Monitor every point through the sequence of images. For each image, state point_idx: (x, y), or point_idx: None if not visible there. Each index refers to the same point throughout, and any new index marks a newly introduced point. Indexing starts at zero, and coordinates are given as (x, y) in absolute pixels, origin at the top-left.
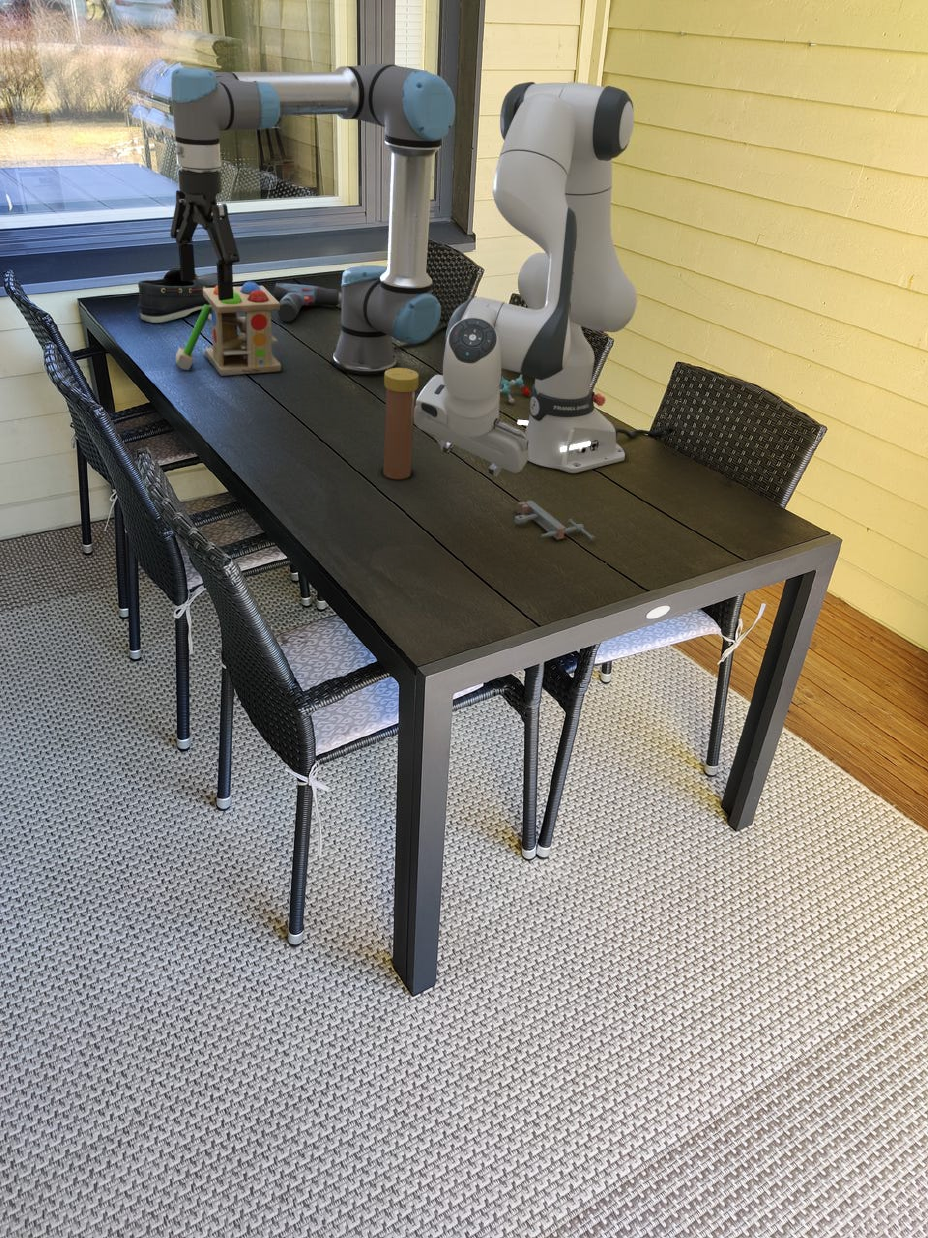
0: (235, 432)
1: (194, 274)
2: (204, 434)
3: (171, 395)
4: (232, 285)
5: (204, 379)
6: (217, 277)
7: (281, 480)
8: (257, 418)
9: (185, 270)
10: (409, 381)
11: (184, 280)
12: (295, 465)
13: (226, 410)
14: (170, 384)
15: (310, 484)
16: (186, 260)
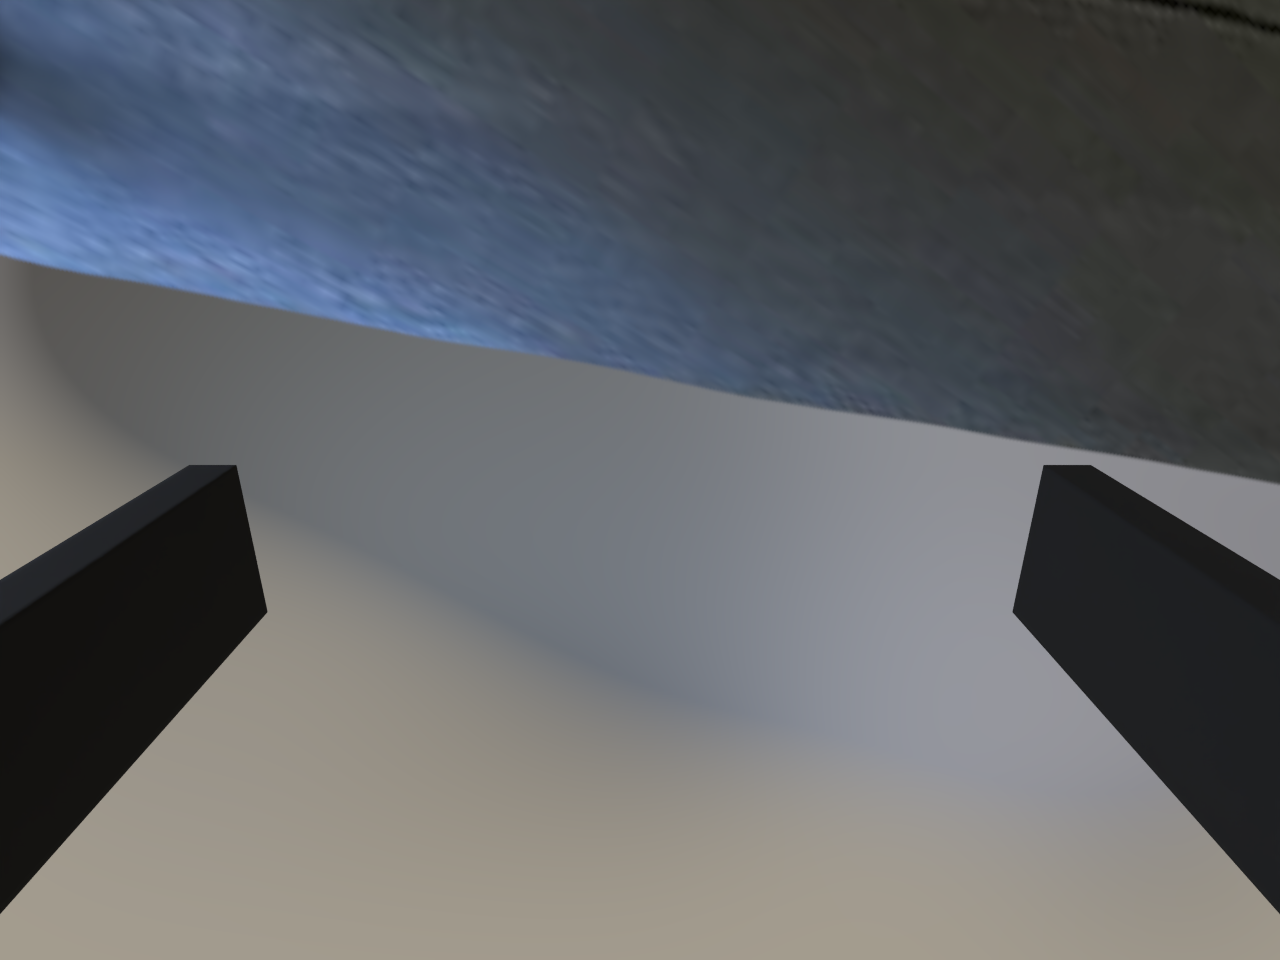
0: (722, 261)
1: (205, 497)
2: (673, 371)
3: (261, 285)
4: (1195, 535)
5: (118, 46)
6: (1166, 783)
7: (1151, 347)
8: (650, 93)
9: (199, 643)
10: None
11: (264, 600)
12: (1104, 231)
13: (508, 167)
14: (136, 225)
15: (1253, 278)
16: (107, 703)
